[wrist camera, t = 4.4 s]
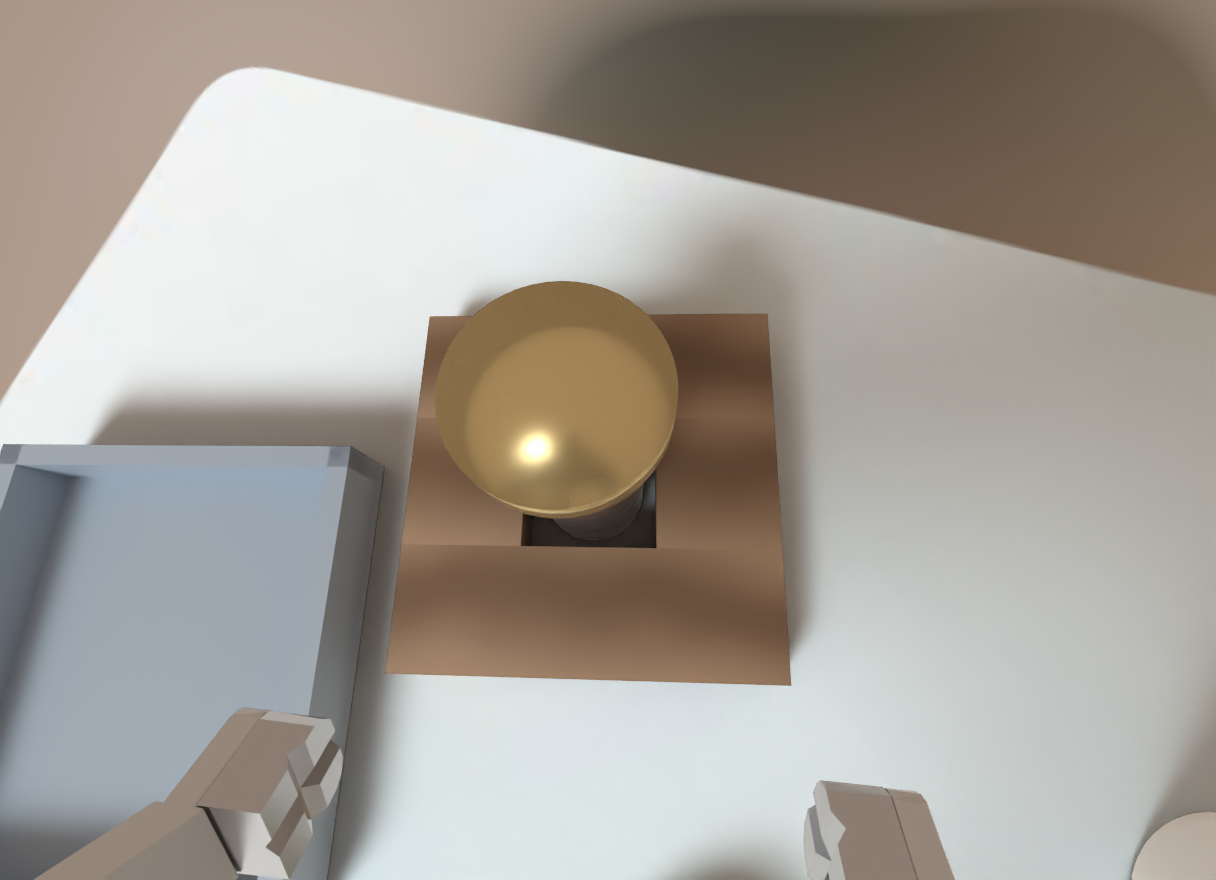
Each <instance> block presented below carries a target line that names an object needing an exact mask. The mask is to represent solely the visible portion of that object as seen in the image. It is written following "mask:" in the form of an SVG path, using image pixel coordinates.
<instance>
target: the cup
mask: <svg viewBox="0 0 1216 880" xmlns="http://www.w3.org/2000/svg"><path fill="white" fill-rule="evenodd" d="M1131 880H1216V812H1200V813H1193V814H1188V815H1185V816H1181V817H1178V818H1176V819H1174V820H1172V821H1170V822H1168V823H1167V824H1165V825H1164V826H1162V827H1161V828H1160V829H1158V830H1157V831H1156V832H1155V833H1154V834H1153V835H1152V836H1151V837H1150V838H1149V839H1148V841H1147V842H1146V844H1145V845H1144V846H1143V848H1142V850H1141V852H1140V854H1139V856H1138V858H1137V861H1136V863H1135V866H1134V869H1133V873H1132V878H1131Z"/></svg>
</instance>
